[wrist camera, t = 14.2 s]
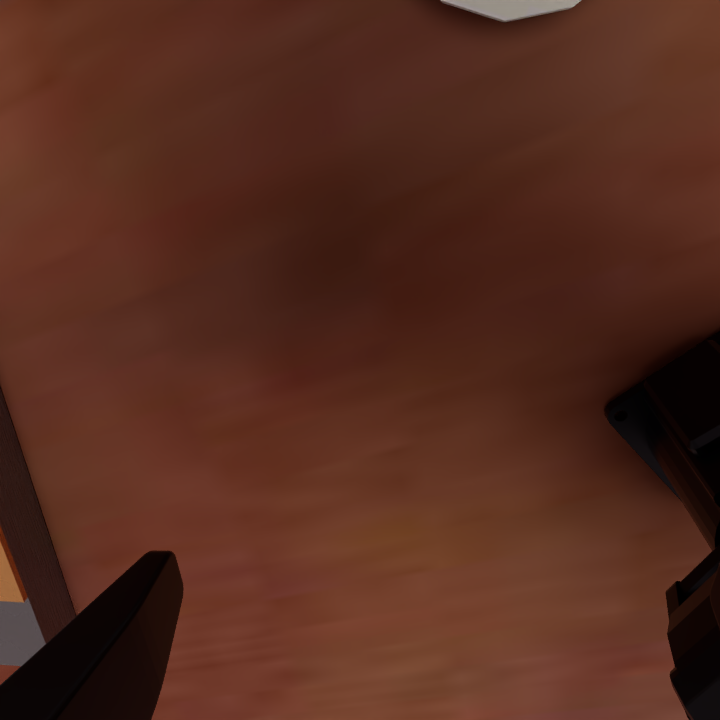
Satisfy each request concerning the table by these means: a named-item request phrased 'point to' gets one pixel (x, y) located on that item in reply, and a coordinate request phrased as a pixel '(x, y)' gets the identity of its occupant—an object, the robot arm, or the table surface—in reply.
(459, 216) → the table surface
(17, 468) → the grey peg hole board
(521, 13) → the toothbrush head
